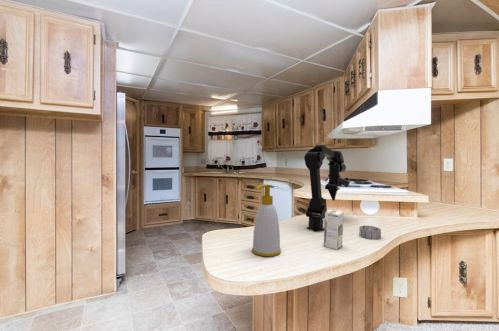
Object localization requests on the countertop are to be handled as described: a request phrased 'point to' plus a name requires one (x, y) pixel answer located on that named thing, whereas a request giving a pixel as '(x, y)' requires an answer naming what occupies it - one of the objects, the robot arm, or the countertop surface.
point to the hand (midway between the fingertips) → (333, 200)
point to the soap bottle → (266, 226)
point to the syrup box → (333, 229)
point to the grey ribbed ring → (370, 233)
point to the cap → (370, 228)
